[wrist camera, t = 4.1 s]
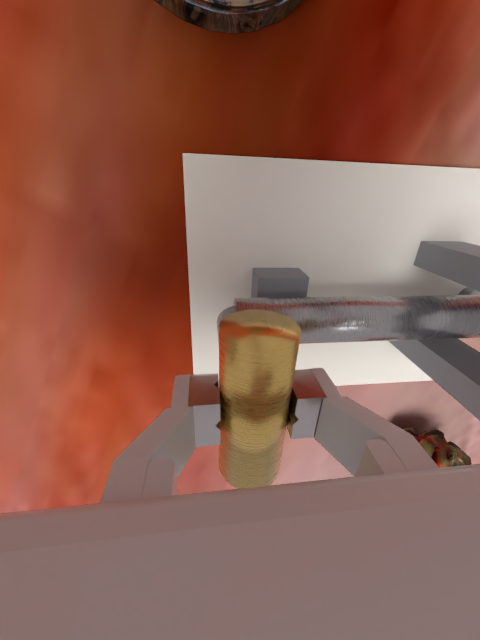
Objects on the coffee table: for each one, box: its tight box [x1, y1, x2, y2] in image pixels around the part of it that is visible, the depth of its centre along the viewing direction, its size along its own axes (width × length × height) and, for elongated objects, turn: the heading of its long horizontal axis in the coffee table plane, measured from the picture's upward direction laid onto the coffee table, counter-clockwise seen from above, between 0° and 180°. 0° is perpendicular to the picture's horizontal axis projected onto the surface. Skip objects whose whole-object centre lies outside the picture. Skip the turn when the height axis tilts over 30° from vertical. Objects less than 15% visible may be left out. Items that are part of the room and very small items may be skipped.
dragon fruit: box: [403, 427, 471, 468], centre depth 26 cm, size 8×8×12 cm
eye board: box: [182, 153, 480, 420], centre depth 15 cm, size 21×16×10 cm
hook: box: [217, 287, 480, 489], centre depth 14 cm, size 19×6×10 cm, turn 88°
